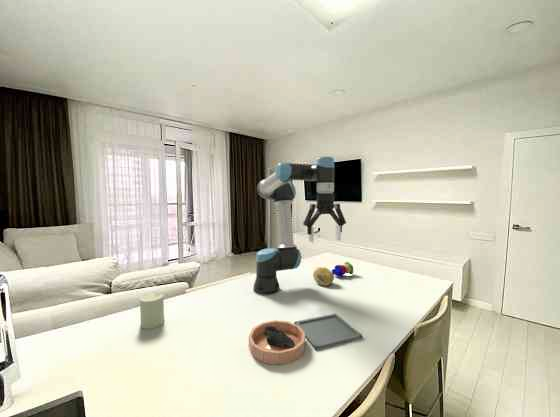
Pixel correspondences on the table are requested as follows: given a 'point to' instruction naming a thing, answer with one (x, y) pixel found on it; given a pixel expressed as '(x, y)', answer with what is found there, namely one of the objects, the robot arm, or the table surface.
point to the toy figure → (343, 269)
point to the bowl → (276, 353)
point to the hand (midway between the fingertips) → (324, 240)
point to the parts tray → (327, 331)
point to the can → (152, 310)
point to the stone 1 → (278, 338)
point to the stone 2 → (323, 276)
